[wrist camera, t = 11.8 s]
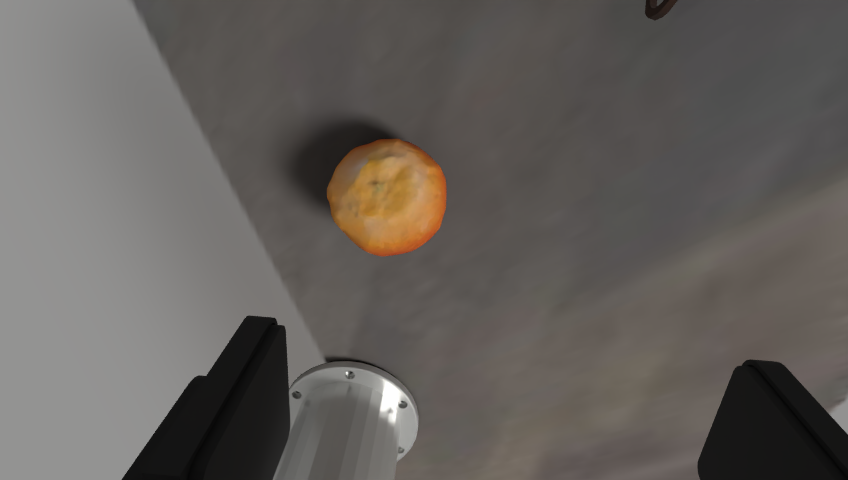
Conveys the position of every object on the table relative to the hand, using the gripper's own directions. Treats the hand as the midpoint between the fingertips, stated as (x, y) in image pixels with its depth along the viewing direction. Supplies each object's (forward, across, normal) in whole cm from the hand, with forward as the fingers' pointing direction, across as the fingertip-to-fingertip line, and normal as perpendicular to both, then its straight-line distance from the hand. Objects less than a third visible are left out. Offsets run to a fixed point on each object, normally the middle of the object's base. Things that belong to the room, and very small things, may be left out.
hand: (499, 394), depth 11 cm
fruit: (+29, +5, +5) cm, 29 cm away
